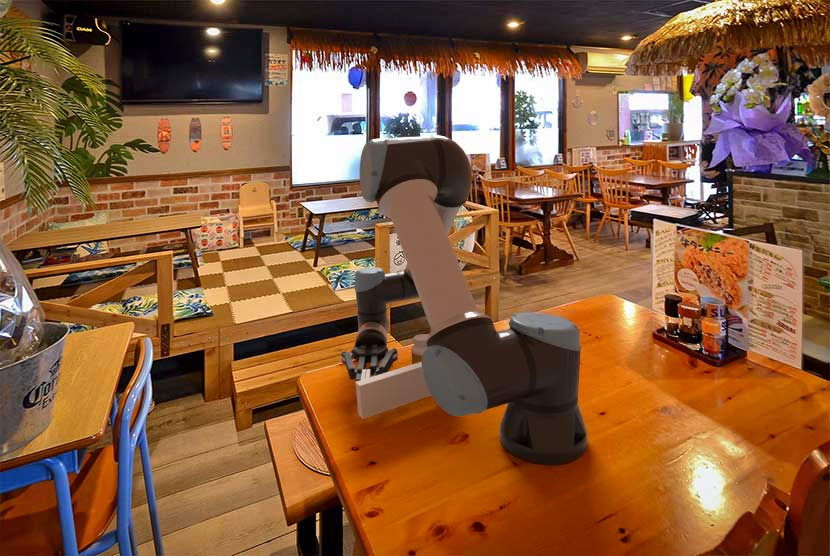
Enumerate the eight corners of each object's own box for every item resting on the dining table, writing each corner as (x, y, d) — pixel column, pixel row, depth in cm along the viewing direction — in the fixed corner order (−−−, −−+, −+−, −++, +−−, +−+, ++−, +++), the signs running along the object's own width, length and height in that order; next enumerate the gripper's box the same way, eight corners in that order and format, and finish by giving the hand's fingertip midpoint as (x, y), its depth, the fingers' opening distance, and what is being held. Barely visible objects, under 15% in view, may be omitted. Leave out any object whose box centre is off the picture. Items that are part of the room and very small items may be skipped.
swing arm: (442, 385, 106) (441, 355, 104) (448, 389, 104) (447, 358, 102) (358, 414, 96) (355, 381, 94) (362, 419, 95) (359, 385, 93)
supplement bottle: (433, 381, 113) (432, 342, 111) (410, 380, 114) (408, 341, 112) (437, 371, 118) (435, 333, 116) (415, 370, 119) (413, 332, 117)
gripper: (399, 355, 120) (399, 405, 98) (345, 358, 120) (332, 409, 97) (397, 326, 118) (397, 370, 96) (342, 329, 118) (329, 374, 95)
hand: (364, 390), depth 97 cm, fingers closed
